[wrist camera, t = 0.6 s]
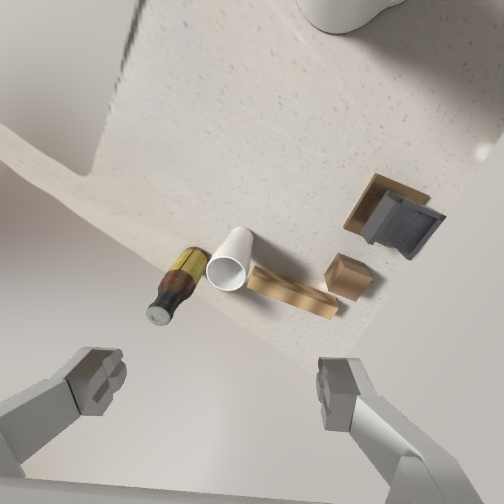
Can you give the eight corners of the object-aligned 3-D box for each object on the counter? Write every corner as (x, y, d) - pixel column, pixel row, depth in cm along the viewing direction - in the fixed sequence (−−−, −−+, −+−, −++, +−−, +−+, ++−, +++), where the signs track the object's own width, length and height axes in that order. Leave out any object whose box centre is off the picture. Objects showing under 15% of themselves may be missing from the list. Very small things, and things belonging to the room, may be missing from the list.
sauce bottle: (182, 265, 57) (135, 325, 39) (184, 242, 54) (133, 296, 36) (209, 272, 57) (173, 335, 39) (212, 249, 54) (175, 306, 36)
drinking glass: (262, 232, 50) (254, 268, 37) (248, 256, 53) (235, 298, 40) (234, 217, 50) (214, 248, 36) (221, 242, 53) (199, 280, 39)
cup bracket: (375, 173, 42) (398, 183, 33) (425, 194, 43) (461, 210, 34) (343, 226, 47) (355, 248, 39) (388, 245, 48) (411, 270, 39)
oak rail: (249, 276, 56) (246, 287, 52) (254, 264, 54) (252, 275, 50) (327, 306, 57) (330, 319, 53) (334, 296, 55) (338, 308, 51)
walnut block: (338, 252, 50) (344, 267, 45) (364, 263, 50) (373, 278, 45) (324, 274, 53) (328, 290, 47) (348, 284, 53) (355, 301, 48)
